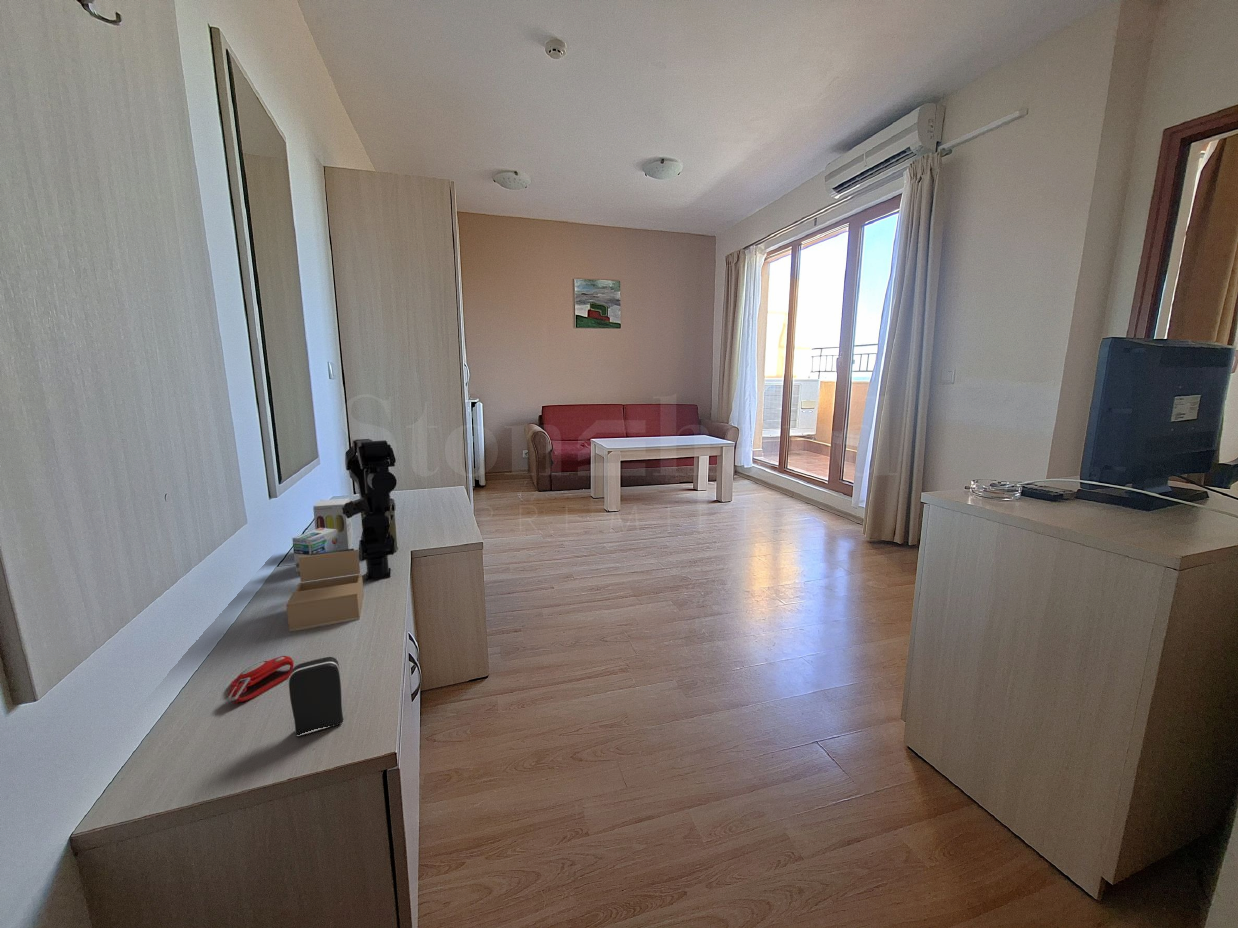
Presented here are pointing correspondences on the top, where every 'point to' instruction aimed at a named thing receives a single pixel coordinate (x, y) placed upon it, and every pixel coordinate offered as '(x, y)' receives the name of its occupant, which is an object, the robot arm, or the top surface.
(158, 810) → the top surface
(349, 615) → the kraft carton
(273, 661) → the tracker holder
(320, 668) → the battery charger
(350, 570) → the carton flap
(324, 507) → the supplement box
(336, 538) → the light bulb box
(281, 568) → the top surface
